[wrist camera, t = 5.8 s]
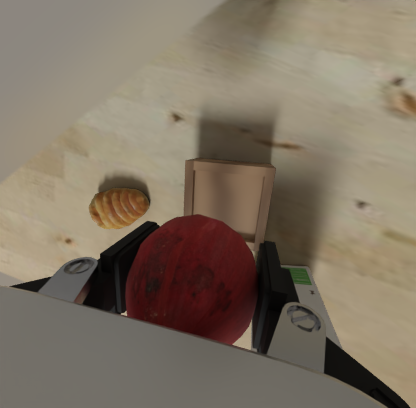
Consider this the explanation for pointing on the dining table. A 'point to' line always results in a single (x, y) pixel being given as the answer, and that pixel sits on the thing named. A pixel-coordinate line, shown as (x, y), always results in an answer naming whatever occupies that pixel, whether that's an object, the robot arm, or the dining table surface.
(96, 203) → the pastry
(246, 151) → the dining table surface
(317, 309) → the skincare box
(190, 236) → the onion
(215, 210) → the wooden crate
